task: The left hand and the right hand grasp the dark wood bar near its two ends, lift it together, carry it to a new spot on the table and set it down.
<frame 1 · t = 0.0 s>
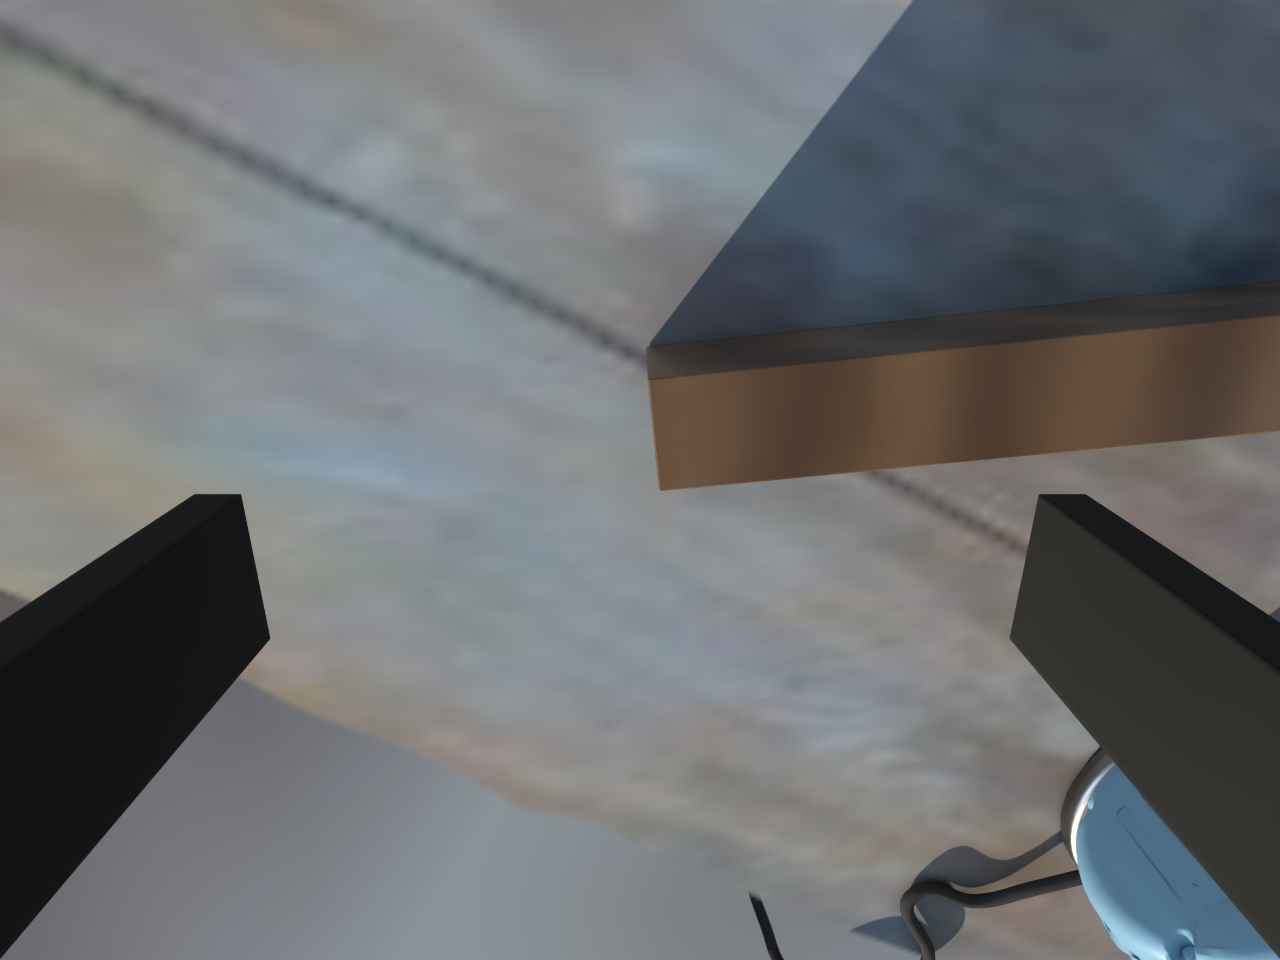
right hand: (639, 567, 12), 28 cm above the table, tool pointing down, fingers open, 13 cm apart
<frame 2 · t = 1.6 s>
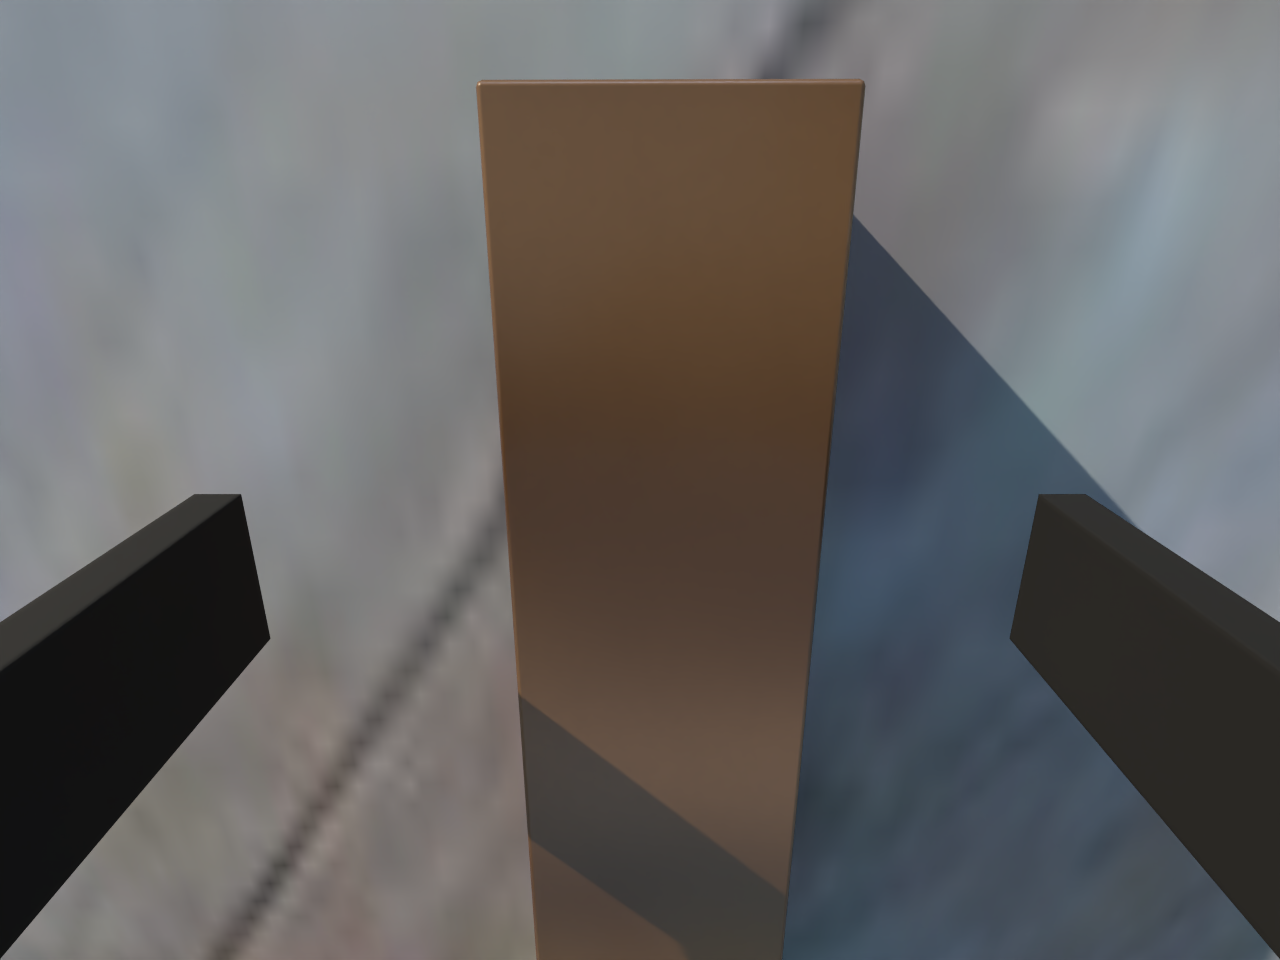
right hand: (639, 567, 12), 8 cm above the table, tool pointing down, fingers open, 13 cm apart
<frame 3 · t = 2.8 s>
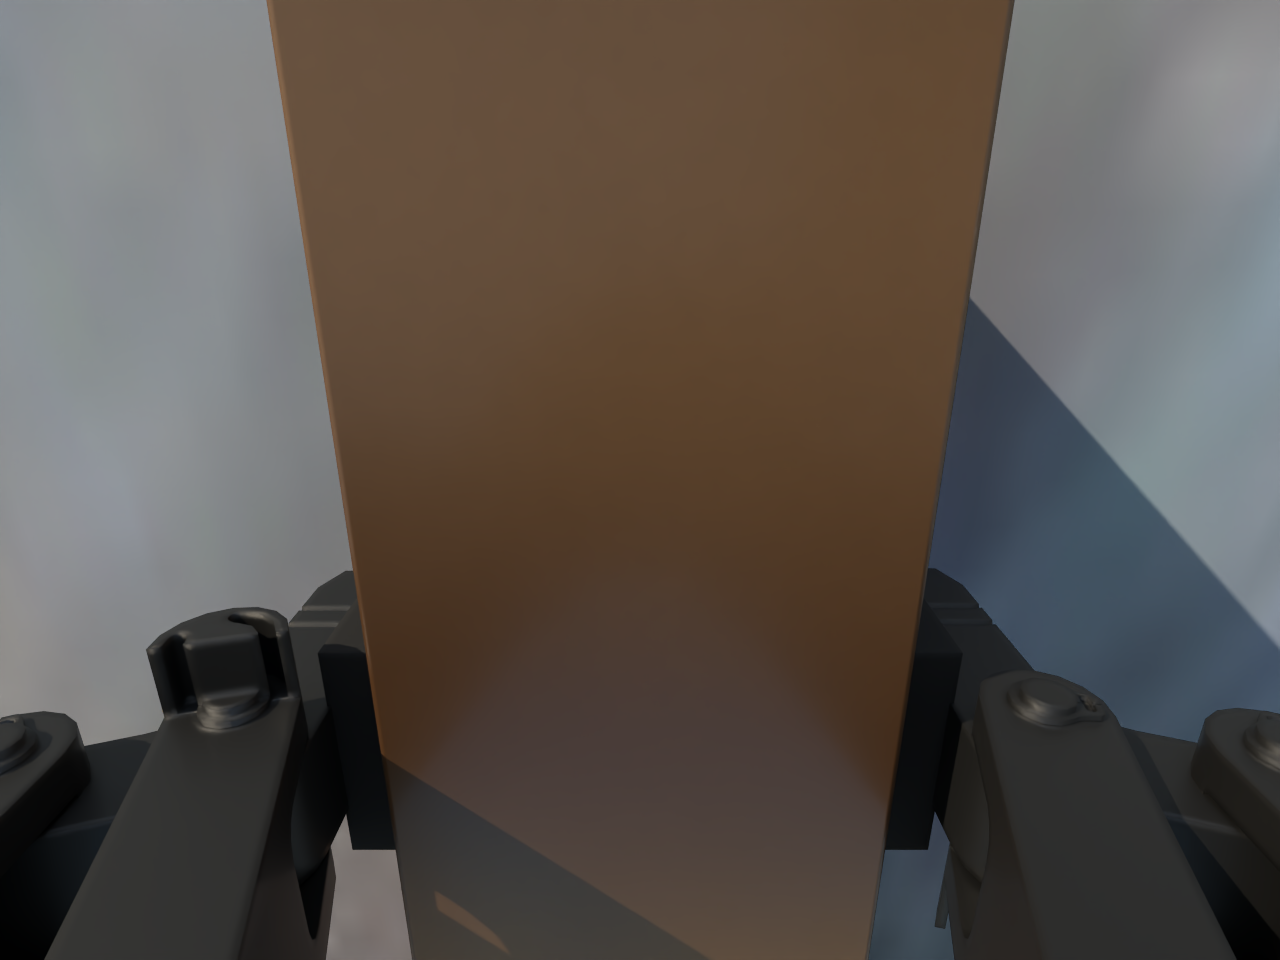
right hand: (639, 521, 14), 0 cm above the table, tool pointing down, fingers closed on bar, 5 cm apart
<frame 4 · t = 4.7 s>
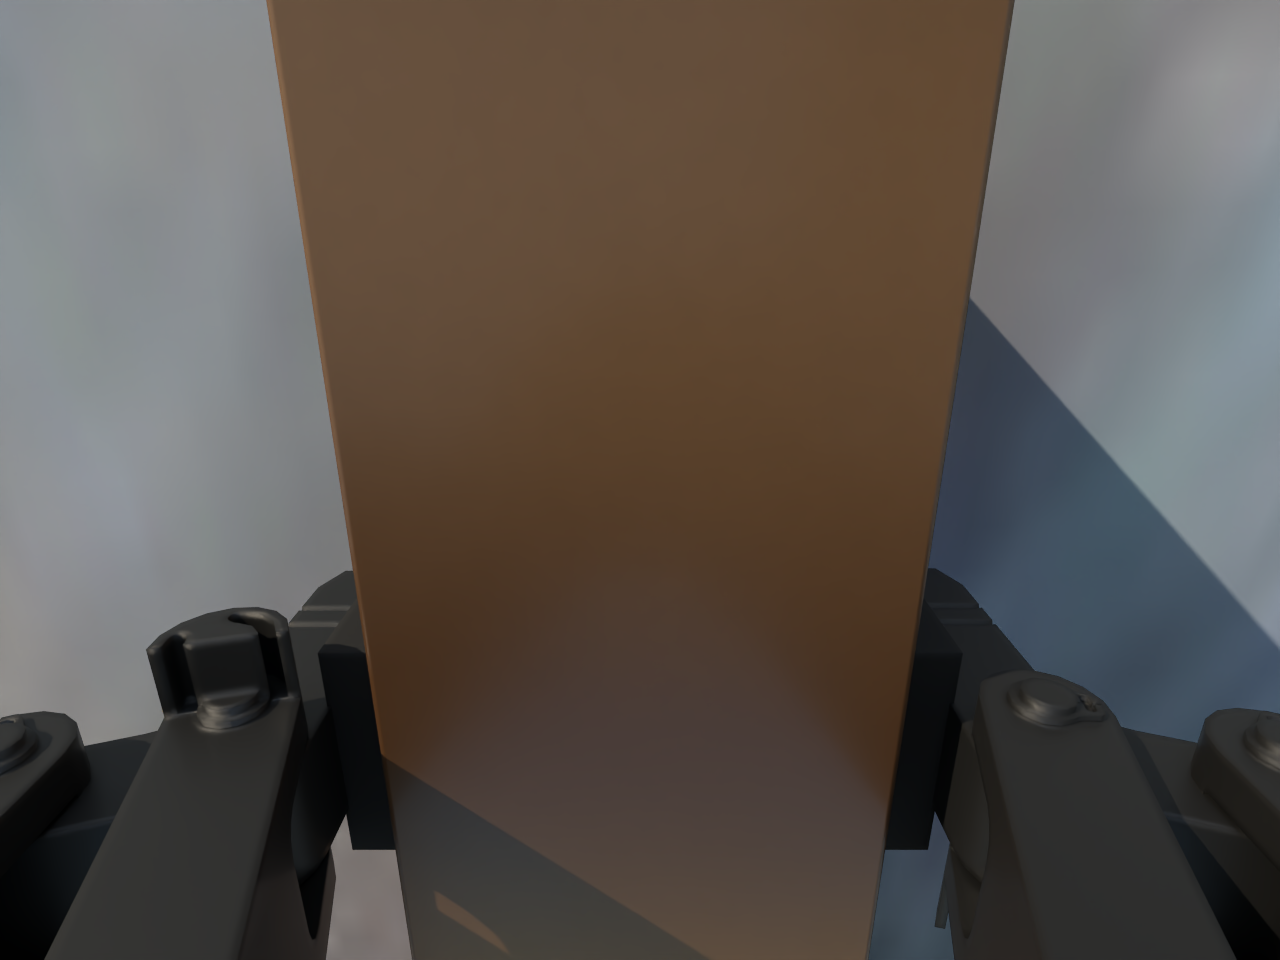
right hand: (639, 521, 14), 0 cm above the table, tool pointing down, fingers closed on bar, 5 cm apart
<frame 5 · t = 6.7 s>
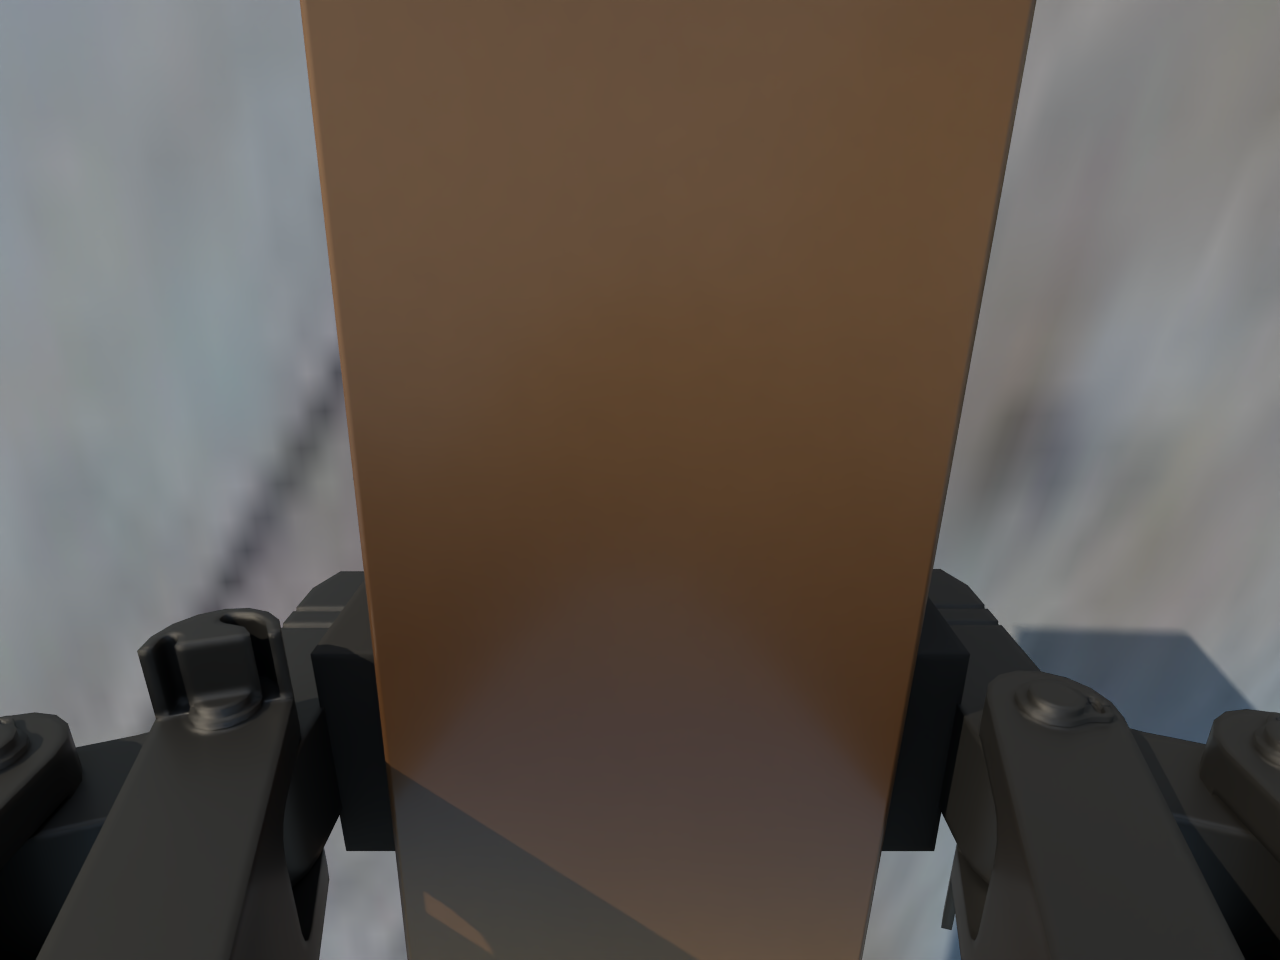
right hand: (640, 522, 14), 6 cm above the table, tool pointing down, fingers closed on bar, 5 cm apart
when the left hand's fingers open (2 cm above the table, at t = 8.7 s): bar drops 1 cm, on the table.
when the right hand's fingers open (2 cm above the table, at t = 8.7 s): bar drops 1 cm, on the table.
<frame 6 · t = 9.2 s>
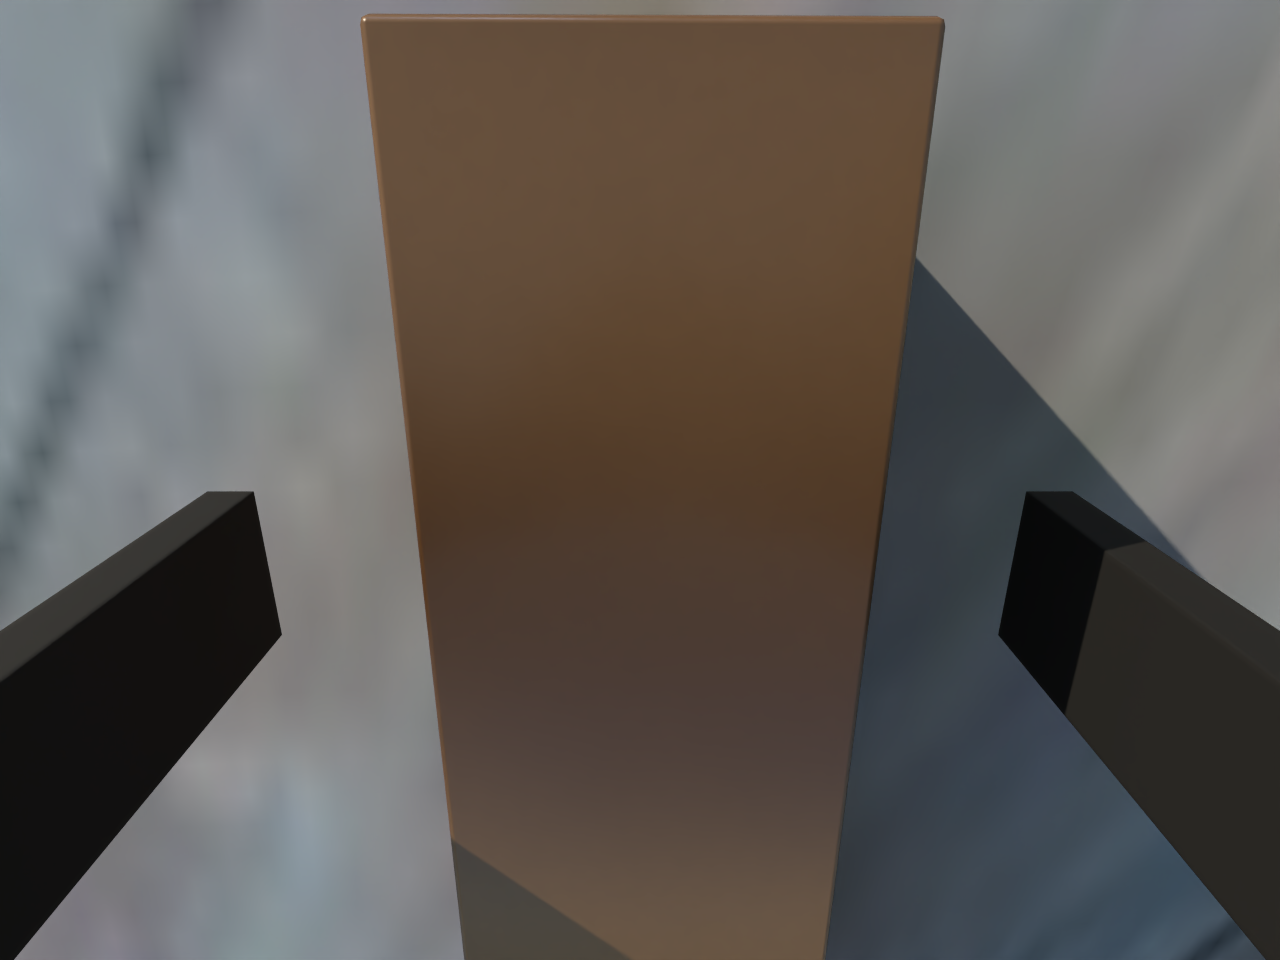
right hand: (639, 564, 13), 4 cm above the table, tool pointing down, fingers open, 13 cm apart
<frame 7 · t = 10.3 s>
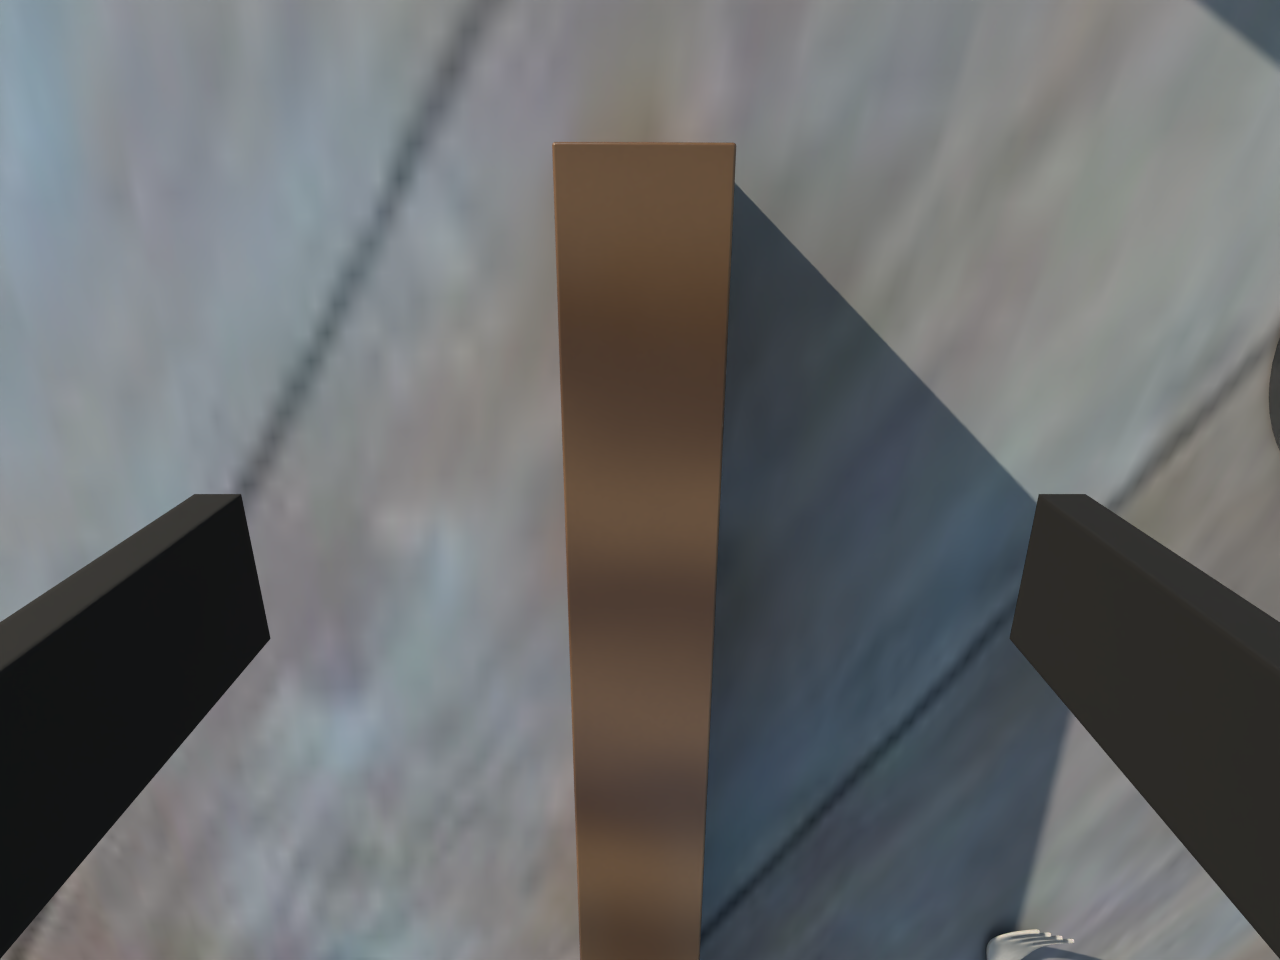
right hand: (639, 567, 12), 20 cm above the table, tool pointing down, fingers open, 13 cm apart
bar: (639, 942, 43), on the table
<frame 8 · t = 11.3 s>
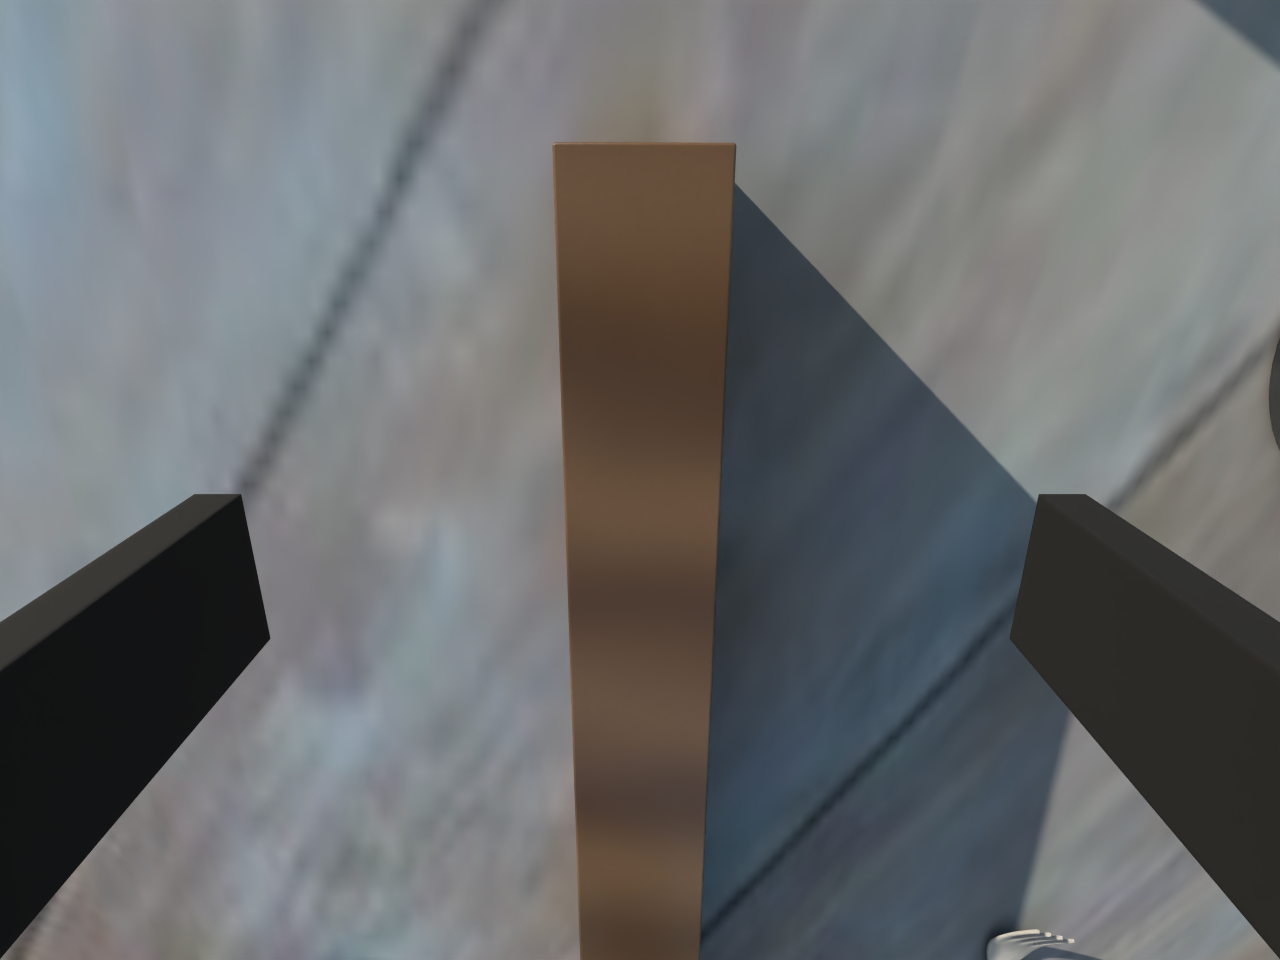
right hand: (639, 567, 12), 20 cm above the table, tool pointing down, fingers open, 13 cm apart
bar: (639, 942, 43), on the table
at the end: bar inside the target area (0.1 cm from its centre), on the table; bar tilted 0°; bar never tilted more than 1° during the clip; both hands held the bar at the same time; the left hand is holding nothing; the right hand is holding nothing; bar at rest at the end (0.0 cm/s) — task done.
